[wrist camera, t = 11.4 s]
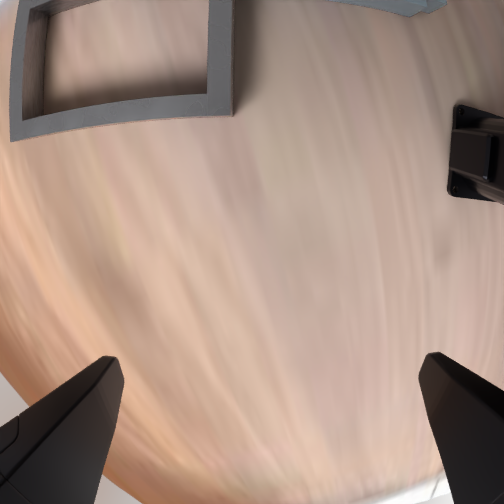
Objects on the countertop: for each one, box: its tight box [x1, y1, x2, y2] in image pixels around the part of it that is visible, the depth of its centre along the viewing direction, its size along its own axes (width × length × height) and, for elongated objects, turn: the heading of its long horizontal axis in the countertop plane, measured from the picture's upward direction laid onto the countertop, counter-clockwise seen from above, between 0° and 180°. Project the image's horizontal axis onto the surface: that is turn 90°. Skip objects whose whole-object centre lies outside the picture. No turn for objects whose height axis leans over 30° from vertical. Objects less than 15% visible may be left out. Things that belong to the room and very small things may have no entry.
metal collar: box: [9, 0, 235, 142], centre depth 15 cm, size 14×10×2 cm
